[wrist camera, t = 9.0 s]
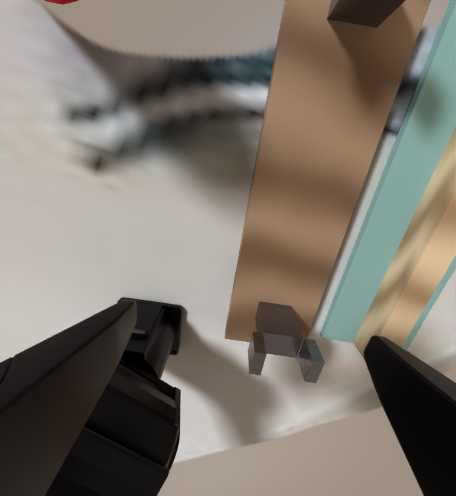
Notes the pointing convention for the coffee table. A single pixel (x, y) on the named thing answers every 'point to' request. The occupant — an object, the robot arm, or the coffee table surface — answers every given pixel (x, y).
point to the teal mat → (401, 190)
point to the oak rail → (417, 259)
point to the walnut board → (315, 153)
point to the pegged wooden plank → (282, 316)
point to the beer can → (61, 1)
